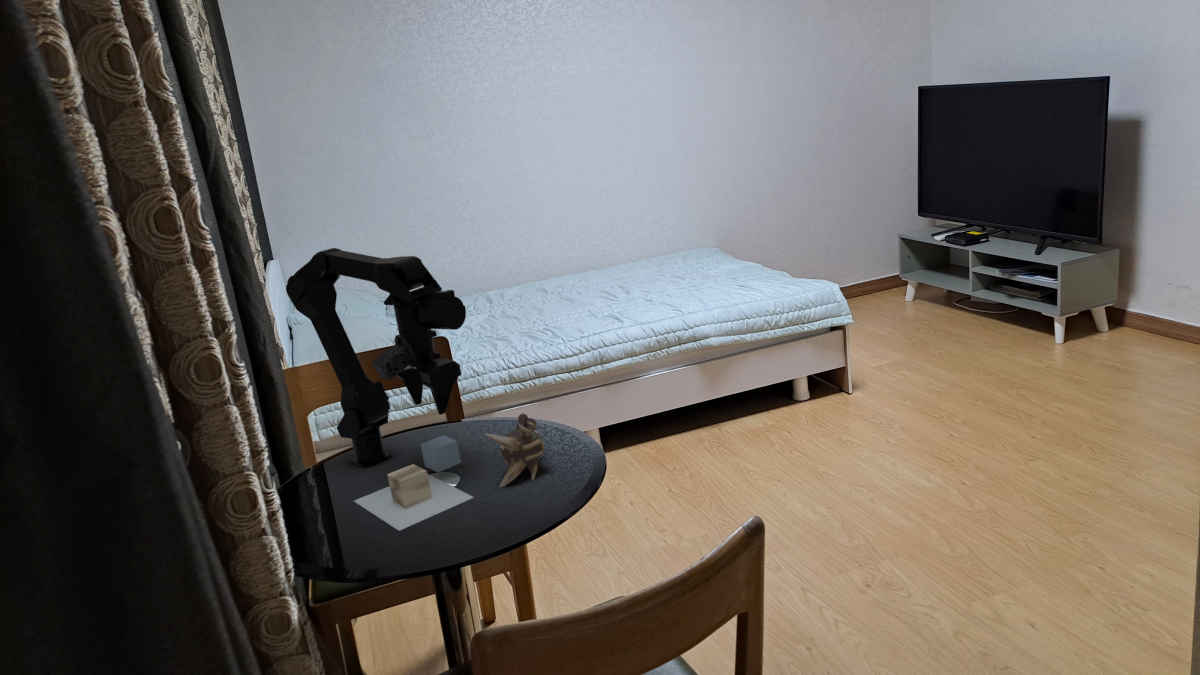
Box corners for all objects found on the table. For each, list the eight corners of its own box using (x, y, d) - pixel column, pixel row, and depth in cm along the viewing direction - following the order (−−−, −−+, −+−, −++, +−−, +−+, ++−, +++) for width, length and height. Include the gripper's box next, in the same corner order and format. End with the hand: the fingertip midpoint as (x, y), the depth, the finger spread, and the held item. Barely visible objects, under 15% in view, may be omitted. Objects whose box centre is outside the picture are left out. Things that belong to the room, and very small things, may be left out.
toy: (562, 455, 157) (542, 486, 143) (521, 461, 159) (497, 492, 144) (550, 400, 155) (528, 426, 141) (509, 407, 157) (483, 433, 142)
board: (354, 502, 148) (353, 500, 147) (424, 474, 156) (424, 472, 156) (399, 532, 134) (399, 530, 134) (474, 499, 142) (473, 497, 142)
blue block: (425, 468, 159) (420, 444, 157) (448, 459, 161) (443, 435, 160) (438, 475, 155) (433, 450, 153) (461, 465, 158) (456, 440, 156)
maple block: (393, 500, 145) (387, 474, 144) (418, 490, 148) (413, 464, 147) (406, 508, 141) (400, 481, 140) (432, 497, 144) (426, 470, 143)
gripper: (351, 333, 153) (368, 412, 157) (396, 347, 138) (414, 434, 143) (406, 317, 159) (421, 394, 163) (455, 329, 145) (470, 413, 149)
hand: (429, 409), depth 154 cm, fingers open, 9 cm apart
